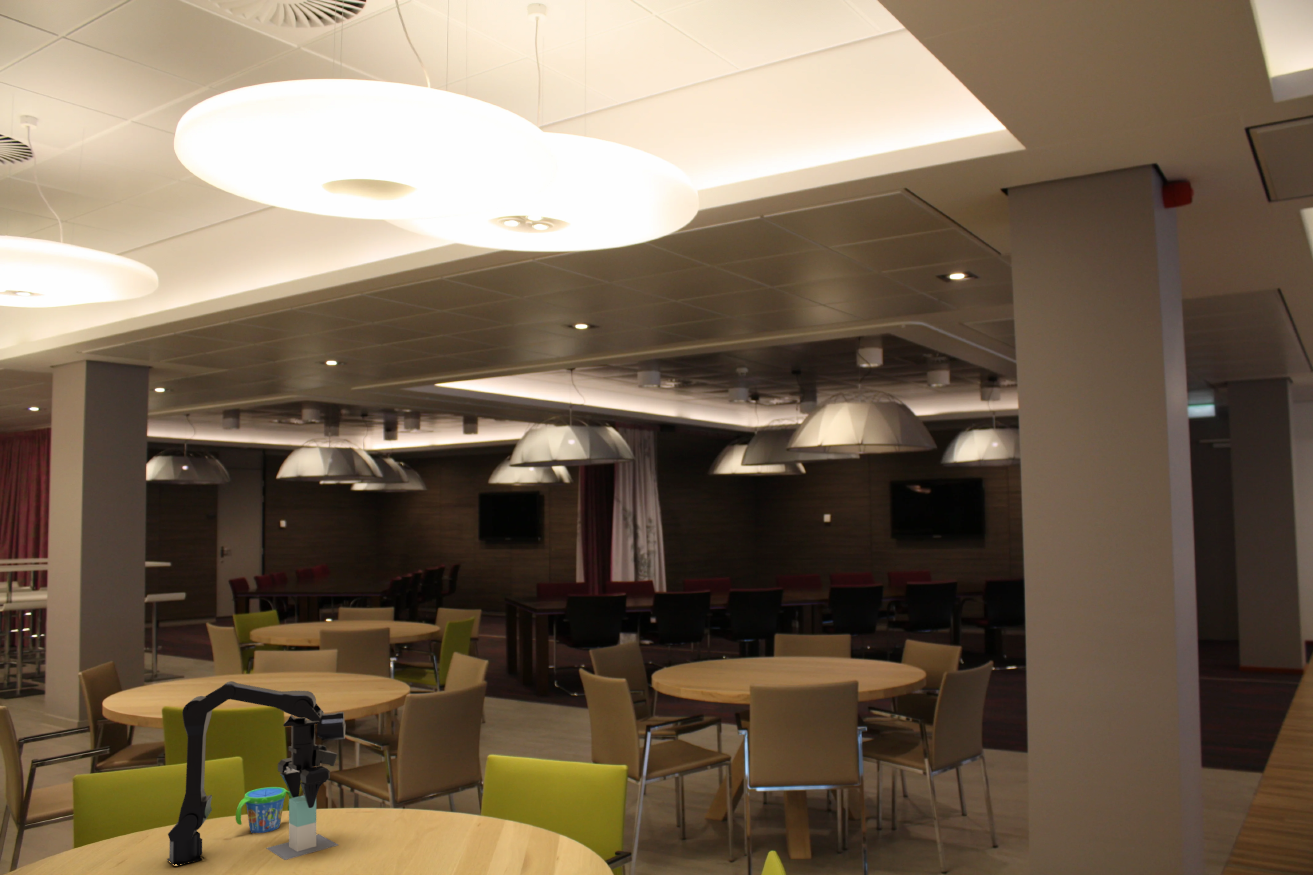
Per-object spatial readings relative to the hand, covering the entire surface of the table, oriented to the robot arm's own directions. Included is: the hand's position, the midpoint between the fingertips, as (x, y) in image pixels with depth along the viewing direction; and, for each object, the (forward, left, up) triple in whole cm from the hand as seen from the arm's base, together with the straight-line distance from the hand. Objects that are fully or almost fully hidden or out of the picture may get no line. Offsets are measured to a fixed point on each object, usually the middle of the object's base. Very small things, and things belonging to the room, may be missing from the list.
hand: (303, 803), depth 242 cm
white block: (0, 0, -11) cm, 11 cm away
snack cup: (-1, +22, -12) cm, 25 cm away
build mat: (0, 0, -11) cm, 11 cm away
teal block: (0, 0, -5) cm, 5 cm away
